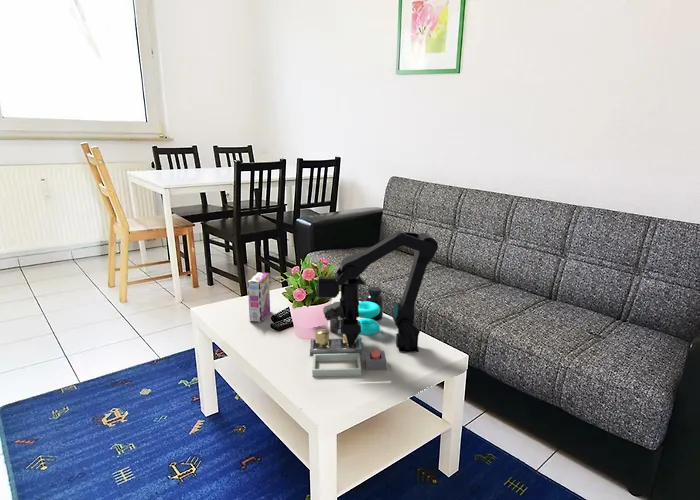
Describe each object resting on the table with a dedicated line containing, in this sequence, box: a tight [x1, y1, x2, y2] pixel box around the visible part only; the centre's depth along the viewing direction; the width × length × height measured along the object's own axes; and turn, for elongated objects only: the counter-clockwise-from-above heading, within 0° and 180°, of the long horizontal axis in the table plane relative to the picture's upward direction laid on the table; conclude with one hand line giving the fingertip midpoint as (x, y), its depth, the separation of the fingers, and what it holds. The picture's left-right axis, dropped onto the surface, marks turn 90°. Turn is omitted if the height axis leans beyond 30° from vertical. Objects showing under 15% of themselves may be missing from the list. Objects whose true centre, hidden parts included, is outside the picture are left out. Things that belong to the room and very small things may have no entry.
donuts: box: [357, 300, 381, 336], centre depth 161 cm, size 10×10×10 cm
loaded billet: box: [315, 328, 330, 349], centre depth 147 cm, size 4×4×6 cm
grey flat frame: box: [309, 337, 363, 357], centre depth 148 cm, size 17×10×2 cm, turn 92°
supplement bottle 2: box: [365, 286, 384, 322], centre depth 171 cm, size 7×7×12 cm
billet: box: [342, 333, 356, 348], centre depth 147 cm, size 4×4×6 cm
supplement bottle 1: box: [329, 301, 344, 335], centre depth 159 cm, size 6×6×11 cm
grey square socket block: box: [364, 350, 387, 371], centre depth 138 cm, size 6×6×4 cm
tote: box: [311, 353, 362, 377], centre depth 136 cm, size 14×9×3 cm, turn 92°
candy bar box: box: [247, 271, 271, 323], centre depth 172 cm, size 11×5×16 cm, turn 172°
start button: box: [370, 348, 381, 359], centre depth 137 cm, size 3×3×3 cm
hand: (349, 340), depth 148 cm, fingers open, 8 cm apart
